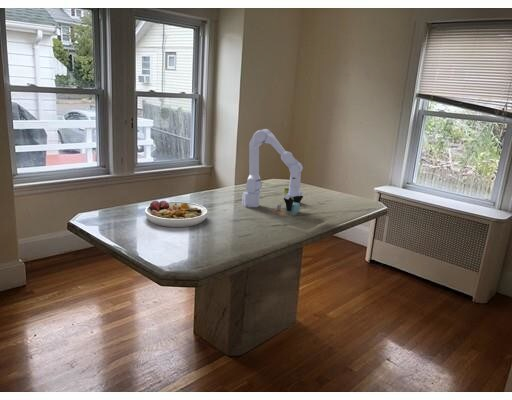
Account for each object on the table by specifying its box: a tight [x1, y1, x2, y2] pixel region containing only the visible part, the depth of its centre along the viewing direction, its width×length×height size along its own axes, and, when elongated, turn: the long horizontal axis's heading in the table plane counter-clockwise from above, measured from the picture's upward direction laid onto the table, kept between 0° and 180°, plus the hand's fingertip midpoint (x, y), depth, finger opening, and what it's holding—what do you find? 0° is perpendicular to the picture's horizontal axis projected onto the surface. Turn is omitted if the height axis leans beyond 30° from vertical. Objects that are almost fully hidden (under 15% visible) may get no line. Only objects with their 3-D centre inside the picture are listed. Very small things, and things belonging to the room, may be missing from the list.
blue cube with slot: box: [285, 202, 301, 214], centre depth 229 cm, size 5×5×5 cm
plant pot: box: [282, 187, 294, 200], centre depth 250 cm, size 9×9×9 cm
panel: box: [268, 207, 303, 216], centre depth 231 cm, size 15×13×1 cm
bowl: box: [144, 200, 208, 228], centre depth 209 cm, size 30×30×8 cm
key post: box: [275, 203, 282, 211], centre depth 232 cm, size 2×1×4 cm, turn 110°
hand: (292, 209), depth 230 cm, fingers open, 7 cm apart
